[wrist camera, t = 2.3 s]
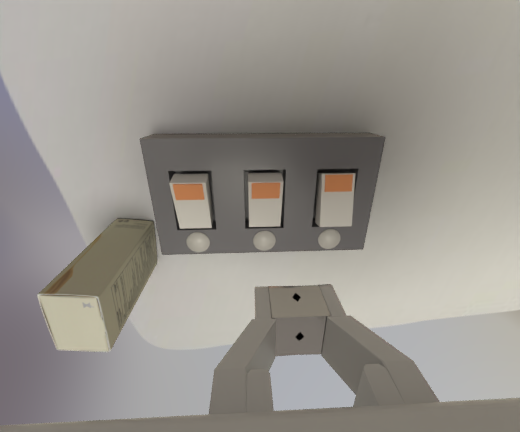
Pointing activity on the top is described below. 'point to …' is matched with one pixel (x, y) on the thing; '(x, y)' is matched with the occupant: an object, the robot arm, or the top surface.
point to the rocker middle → (265, 199)
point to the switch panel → (236, 188)
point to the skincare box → (100, 287)
